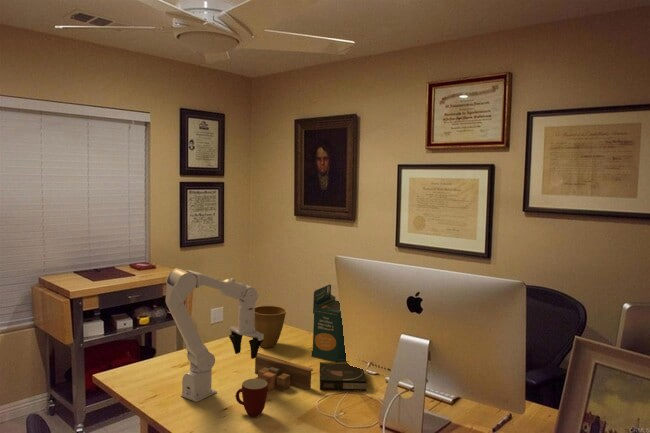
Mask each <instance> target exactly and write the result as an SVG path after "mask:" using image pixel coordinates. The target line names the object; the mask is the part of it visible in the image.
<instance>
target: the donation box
mask: <svg viewBox="0 0 650 433" xmlns="http://www.w3.org/2000/svg"><path fill="white" fill-rule="evenodd" d="M339 301H340V300H336V296H335V295H333V294H332V284H327V285H325V286H322V287H320V288H317V289H315V290H314V292H313V304H312V306H313V307H312V314H313V332H312V333H313V335H312V350H311V355H310V356H311V358H316V359H321V360H325V361H329V362H332V363H347V362H346V353H345V345H344V336H343V325H342V318H341V311H340V303H339Z"/></svg>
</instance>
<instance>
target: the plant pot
mask: <svg viewBox="0 0 650 433" xmlns="http://www.w3.org/2000/svg"><path fill="white" fill-rule="evenodd" d="M286 314H287V309H285V307H281V306H276V305H260V306H255V319H254V328H255V330H256V331H258V332H259V333H262V334H264V339H263V341H262V343H261V345H260V347H261V348H264V349H265V348H266V349H270V348H272V349H273V348H275V347H276V346H277V344H278V342H279V339H280V336H281V335H282V334H281V333H282V331H283V327H284V325H285V324H284V323H285V319H286Z"/></svg>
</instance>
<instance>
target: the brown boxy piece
mask: <svg viewBox="0 0 650 433" xmlns="http://www.w3.org/2000/svg"><path fill="white" fill-rule="evenodd" d="M279 375H280V369H277V368H273V367H271V368H269V372H267V373H265V374H263V375H261V376H259V377H258V376H257V377H255V378H254V379H263V380H265V381H267V383H268V393H269V392H270V391H272V390H274V389H276V385H277V376H279Z"/></svg>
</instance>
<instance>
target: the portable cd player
mask: <svg viewBox="0 0 650 433" xmlns="http://www.w3.org/2000/svg"><path fill="white" fill-rule="evenodd" d="M348 363H349V362H330V361H329V362H327V361H325V362H324V361H322V362H321V361H320V362H319V390H320V391H338V392H339V391H343V392H345V391H346V392H367V378H366V373H365V370H363V369H364V368H363V369H360V368H357V367H353V366H350V365H349V364H348Z"/></svg>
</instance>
